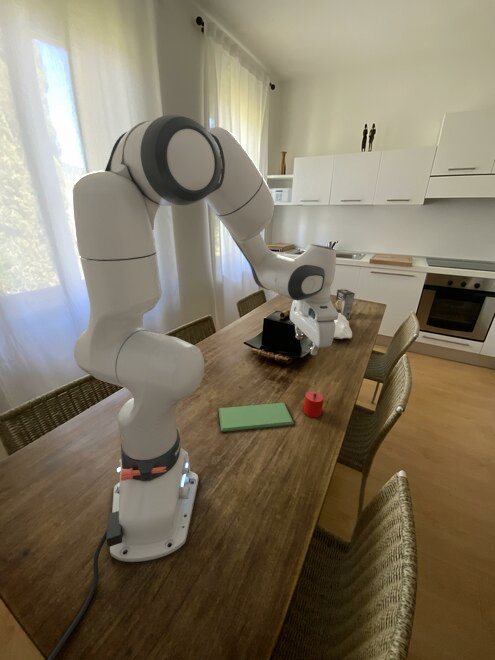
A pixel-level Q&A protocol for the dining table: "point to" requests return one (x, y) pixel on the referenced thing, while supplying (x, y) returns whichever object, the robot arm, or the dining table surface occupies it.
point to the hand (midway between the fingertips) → (305, 346)
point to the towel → (254, 417)
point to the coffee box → (344, 302)
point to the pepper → (313, 404)
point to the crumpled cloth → (342, 328)
